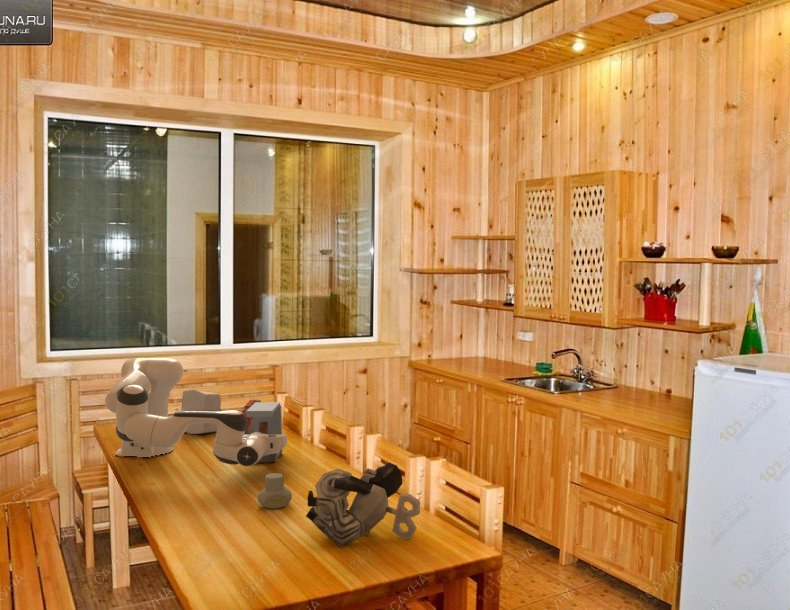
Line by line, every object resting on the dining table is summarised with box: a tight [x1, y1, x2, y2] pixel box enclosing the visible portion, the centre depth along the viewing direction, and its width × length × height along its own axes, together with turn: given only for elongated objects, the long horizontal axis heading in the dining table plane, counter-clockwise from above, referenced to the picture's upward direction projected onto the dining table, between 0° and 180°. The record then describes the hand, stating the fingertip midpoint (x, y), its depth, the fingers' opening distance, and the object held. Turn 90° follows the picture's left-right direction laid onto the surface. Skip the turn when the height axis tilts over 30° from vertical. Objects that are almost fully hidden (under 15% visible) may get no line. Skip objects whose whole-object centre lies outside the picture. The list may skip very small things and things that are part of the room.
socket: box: [256, 453, 281, 464], centre depth 291 cm, size 10×10×2 cm
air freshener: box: [256, 472, 293, 510], centre depth 237 cm, size 11×8×10 cm
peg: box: [258, 422, 268, 434], centre depth 285 cm, size 4×4×12 cm
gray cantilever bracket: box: [246, 401, 284, 455], centre depth 290 cm, size 11×16×21 cm
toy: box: [305, 462, 421, 548], centre depth 213 cm, size 21×31×30 cm
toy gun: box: [240, 398, 262, 435], centre depth 330 cm, size 4×20×15 cm, turn 163°
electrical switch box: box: [180, 389, 222, 435], centre depth 340 cm, size 15×15×20 cm
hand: (263, 435), depth 286 cm, fingers closed on peg, 4 cm apart
